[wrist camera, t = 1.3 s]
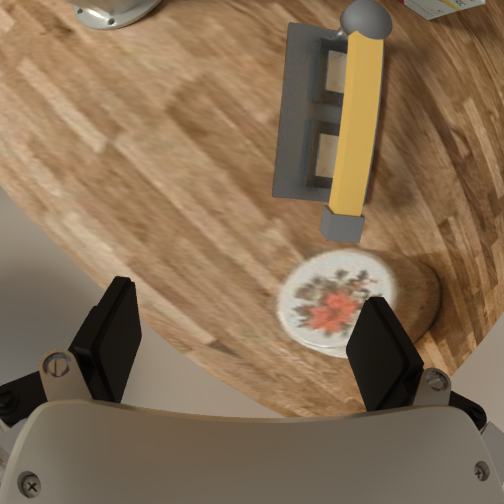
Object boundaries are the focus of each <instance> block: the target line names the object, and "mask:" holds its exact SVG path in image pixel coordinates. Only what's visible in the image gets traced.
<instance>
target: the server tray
mask: <svg viewBox="0 0 504 504" xmlns="http://www.w3.org/2000/svg"><path fill="white" fill-rule="evenodd" d="M384 51H385V44H383V56H382V71H381V84H380V95H379V104H378V113H377V122H376V129H375V137H374V144H373V150H372V157H371V163H370V169H369V175H368V180H367V186H366V191H365V196H364V201H363V206H364V205H365V200H366V195H367V189H368V184H369V179H370V173H371V167H372V161H373V155H374V149H375V142H376V135H377V128H378V120H379V111H380V102H381V93H382V81H383V68H384ZM347 52H348V35H347V34H346V33H345V32H344V30H343V29H342V26H341V27H340V28H338V29H337V30H336V31H335V30H330V29H326V28H321V27H316V26H311V25H305V24H299V23H293V22H289V24H288V33H287V44H286V56H285V67H284V78H283V89H282V99H281V110H280V120H279V130H278V140H277V150H276V160H275V170H274V179H273V189H272V196H273V197H279V198H291V199H302V200H312V201H322V202H329V201H330V195H331V189H332V182H333V176H334V170H335V163H336V156H337V149H338V141H339V134H340V126H341V117H342V108H343V99H344V89H345V78H346V66H347Z"/></svg>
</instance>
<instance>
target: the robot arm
mask: <svg viewBox="0 0 504 504" xmlns="http://www.w3.org/2000/svg"><path fill="white" fill-rule="evenodd" d="M64 1H66V2H69V3H71V4H73V6H74V12H75V15H76V17H77V19H78V20H79V21H80V22H81V23H82V24H84V25H85V26H87V27H89V28H92V29H96V30H112V29H117V28H121V27H124V26H127V25H129V24H131V23H133V22H135V21H137V20H139V19H140V18H142V17H144V16H145V15H146V14H148V13H149V12H150V11H152V10H153V9H154V8H155V7H156V6H157V5H158V4H159V3H160V2H161V1H162V0H64ZM141 337H142V334H141V326H140V319H139V312H138V304H137V296H136V288H135V283H134V282H131V279H130V278H129V277H120V276H116V277H115V278H114V279H113V281H112V283H111V284H110V286H109V287H108V289H107V290H106V292H105V294H104V295H103V297H102V299H101V300H100V302H99V303H98V305H97V306H94V307H93V308H92V309H91V311H90V312H89V314H88V316H87V317H86V319H85V321H84V322H83V324H82V326H81V327H80V329H79V331H78V333H77V334H76V336H75V338H74V340H73V342H72V343H71V345H70V347H69V349H68V351H67V350H64V349H56V350H52V351H50V352H48V353H46V354H45V355H44V356H43V357H42V359H41V360H40V363H39V371H37V372H34V373H32V374H29V375H27V376H24V377H22V378H19V379H17V380H14V381H12V382H9V383H6V384H4V385H2V386H0V504H504V491H503V488H502V484H503V482H504V433H503V432H502V431H501V430H499V429H498V428H497V427H496V426H495V425H494V424H493V423H491V422H490V421H489V422H488V423H487V417H486V413H485V411H484V410H483V408H482V407H481V406H480V405H478V404H476V403H474V402H473V401H471V400H469V399H467V398H465V397H463V396H461V395H459V394H457V393H455V392H453V391H451V381H450V379H449V377H448V376H447V374H445V373H444V372H443V371H441V370H440V369H437V368H427V369H426V370H424V369H423V365H424V362H423V360H422V358H421V357H420V355H419V353H418V352H417V350H416V348H415V346H414V345H413V343H412V341H411V340H410V338H409V336H408V335H407V333H406V332H405V330H404V328H403V327H402V325H401V323H400V322H399V320H398V319H397V317H396V315H395V314H394V312H393V311H392V309H391V308H390V306H389V305H388V303H387V301H386V300H385V299H384V297H370V298H369V299H368V300H366V301H365V302H364V305H363V307H362V310H361V312H360V315H359V317H358V320H357V322H356V325H355V327H354V330H353V332H352V334H351V337H350V339H349V341H348V344H347V346H346V354H347V357H348V359H349V362H350V365H351V367H352V370H353V373H354V376H355V378H356V381H357V384H358V387H359V390H360V393H361V395H362V398H363V401H364V404H365V407H366V410H367V412H363V413H355V414H346V415H335V416H321V417H303V418H240V417H221V416H206V415H196V414H186V413H178V412H170V411H163V410H156V409H149V408H143V407H136V406H131V405H126V404H120V403H121V400H122V396H123V393H124V390H125V387H126V383H127V380H128V377H129V374H130V371H131V368H132V365H133V362H134V359H135V356H136V353H137V350H138V348H139V345H140V341H141Z"/></svg>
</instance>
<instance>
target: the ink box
mask: <svg viewBox="0 0 504 504" xmlns="http://www.w3.org/2000/svg"><path fill="white" fill-rule="evenodd" d="M398 1H400V2H401V3H403V4H404V5H406V6H407V7H409V8H410V9H412V10H413V11H415V12H416V13H418V14H419V15H421V16H422V17H424V18H425V19H426V20H431V19H434V18H437V17H440V16H443V15H446V14H450V13H453V12H456V11H460V10H464V9H468V8H472V7H476V6H480V5H484V4H485V3H486V0H398Z"/></svg>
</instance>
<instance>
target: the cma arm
mask: <svg viewBox="0 0 504 504" xmlns="http://www.w3.org/2000/svg"><path fill="white" fill-rule="evenodd" d="M340 23H341V26H342V29H343V30H344V32H345V33H346V34H347V35H348V52H347V66H346V78H345V89H344V99H343V108H342V117H341V126H340V134H339V141H338V149H337V156H336V163H335V170H334V176H333V182H332V189H331V195H330V201H329V206H325V205H324V207H323V213H322V219H321V224H320V231H321V233H322V235H323V236H324V238H325V239H326V241H340V242H353V243H359V242H360V238H361V234H362V230H363V225H364V221H365V217H364V216H363V215H362V214H361V211H362V206H363V201H364V196H365V191H366V186H367V180H368V175H369V169H370V163H371V157H372V150H373V144H374V137H375V129H376V122H377V113H378V104H379V95H380V84H381V71H382V56H383V38H386V37H387V36H388V35H389V34H390V33H391V31H392V20H391V17H390V15H389V14H388V12H387V11H386V10H385V9H384V8H383V7H382V6H381V5H380V4H378V3H376V2H374V1H372V0H356V1H354V2H353V3H352V4H351V5H349V6H348V7H347V8H346V9H345V10H344V11H343V12H342V14H341V17H340Z"/></svg>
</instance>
